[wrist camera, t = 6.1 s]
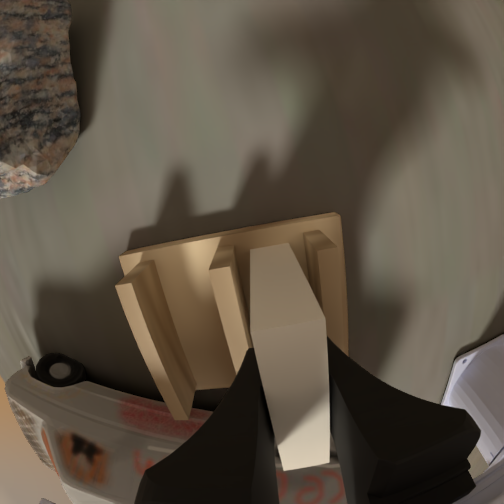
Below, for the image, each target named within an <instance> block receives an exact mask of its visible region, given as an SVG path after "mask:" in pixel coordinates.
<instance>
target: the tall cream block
mask: <svg viewBox="0 0 504 504" xmlns="http://www.w3.org/2000/svg"><path fill="white" fill-rule="evenodd" d="M250 333H251V337H252V341H253V346H254V350H255V355H256V359H257V363H258V368H259V372H260V376H261V380H262V385H263V389H264V393H265V397H266V401H267V406H268V410H269V414H270V418H271V422H272V426H273V430H274V434H275V438H276V442H277V446H278V450H279V454H280V458H281V462H282V466H283V470H284V471H286V470H293V469H299V468H305V467H311V466H316V465H321V464H325V463H329V458H330V403H329V371H328V351H327V334H326V320H325V316H324V314H323V312H322V310H321V308H320V306H319V304H318V302H317V300H316V297H315V295H314V293H313V291H312V289H311V287H310V285H309V283H308V281H307V279H306V277H305V275H304V273H303V271H302V269H301V267H300V265H299V263H298V261H297V259H296V257H295V255H294V253H293V251H292V249H291V247H290V245H289V243H284V244H279V245H273V246H267V247H262V248H256V249H251V250H250Z"/></svg>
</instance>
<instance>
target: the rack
mask: <svg viewBox="0 0 504 504" xmlns="http://www.w3.org/2000/svg"><path fill="white" fill-rule="evenodd" d="M284 243H289V245H290V247H291V249H292V251H293V253H294V255H295V257H296V259H297V261H298V263H299V265H300V267H301V269H302V271H303V273H304V275H305V277H306V279H307V281H308V283H309V285H310V287H311V289H312V291H313V293H314V295H315V297H316V300H317V302H318V304H319V306H320V308H321V310H322V312H323V314H324V316H325V320H326V334H327V336H328V337H329V338H330V339H331V341H332V342H333V343H334V344H335V345H336V346H337V347H339V348H340V349H341V350H342V351H343V352H344V353H345V354H346V355H347V356H348V307H347V287H346V271H345V258H344V246H343V236H342V226H341V217H340V215H339V214H337V213H335V212H332V213H326V214H320V215H314V216H308V217H302V218H296V219H290V220H284V221H279V222H273V223H267V224H262V225H256V226H250V227H245V228H239V229H234V230H229V231H223V232H218V233H213V234H208V235H202V236H197V237H192V238H187V239H182V240H177V241H172V242H167V243H162V244H157V245H152V246H147V247H142V248H138V249H133V250H128V251H125V252H124V253H123V254H121V255H120V256H119V259H120V263H121V266H122V269H123V272H124V276H125V277H124V278H122V279H121V280H120V281H119V282H118V283H117V284H116V285H115V287H116V290H117V293H118V296H119V299H120V301H121V304H122V307H123V309H124V312H125V315H126V317H127V320H128V322H129V325H130V328H131V330H132V332H133V335H134V337H135V340H136V342H137V344H138V347H139V349H140V351H141V354H142V356H143V358H144V360H145V362H146V365H147V367H148V369H149V371H150V373H151V375H152V377H153V379H154V381H155V383H156V386H157V388H158V390H159V391H160V393H161V395H162V397H163V399H164V401H165V403H166V405H167V407H168V409H169V411H170V412H171V414H172V416H173V418H174V420H189V417H190V412H191V408H192V403H193V398H194V394H195V390H203V389H215V388H226V387H230V386H231V384H232V383H233V381H234V379H235V377H236V375H237V373H238V371H239V369H240V366H241V364H242V362H243V359H244V357H245V354H246V351H247V350H248V349H249V348H254V346H253V341H252V337H251V333H250V250H251V249H256V248H262V247H267V246H273V245H279V244H284Z"/></svg>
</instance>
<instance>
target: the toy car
mask: <svg viewBox="0 0 504 504" xmlns="http://www.w3.org/2000/svg"><path fill="white" fill-rule="evenodd" d="M20 363H21V367H22V369H21V370H19V371H17V372H16V373H15V374H14V375H12V376H11V377H10V378H9V379H8V380H7V381H6V383H5V386H6V387H5V391H6V394H7V397H8V401H9V404H10V407H11V409H12V411H13V413H14V415H15V418H16V420H17V422H18V424H19V426H20V428H21V430H22V431H23V434H24V435H25V437H26V439H27V440H28V442H29V444H30V445H31V447H32V448H33V450H34V451H35V452H36V454H37V455H38V457H39V458H40V460H41V461H42V463H43V464H44V465H45V466H47V467H48V468H50V469H52V470H54V471H56V472H57V474H58V476H59V478H60V481H61V485H62V487H63V489H64V490H65V492H66V494H67V495H68V497H69V499H70V500H71V501H72V502H73V504H134V502H135V498H136V495H137V491H138V487H139V484H140V481H141V479H142V477H143V475H144V472H145V470H146V469H148V468H150V467H152V466H153V465H155V464H156V463H158V462H159V461H161V460H162V459H164V458H166V457H167V456H168V455H170V454H171V453H172V452H174V451H175V450H176V449H177V448H179V447H180V446H181V445H182V444H183V443H184V442H186V441H187V440H188V439H189V438H190V437H191V436H192V435H193V434H194V433H195V432H196V431H197V430H198V429H199V428H200V427H201V426H202V425H203V424H204V423H205V422H206V420H207V419H208V418H209V417H210V416H211V414H212V413H213V412H212V411H207V410H201V409H195V408H191V412H190V417H189V420H174V418H173V416H172V414H171V412H170V411H169V409H168V407H167V405H166V403H164V402H160V401H155V400H151V399H147V398H143V397H139V396H135V395H131V394H128V393H124V392H121V391H117V390H114V389H111V388H107V387H104V386H101V385H98V384H95V383H92V382H89V381H85V379H86V373H85V369H84V367H83V365H82V364H81V363H79V362H78V361H76V360H74V359H71V358H69V357H68V356H66V355H63V354H60V353H57V354H56V353H50V354H47V355H45V356H44V357H42V358H41V359H40V360H39V362H38V364H37V365H36V370H35V366H34V364H33V361H32V358H31V357H29V356H28V357H26V358H24V359H22V360H21V362H20ZM274 451H275V466H276V476H277V485H278V495H279V504H347V499H346V494H345V488H344V483H343V478H342V473H341V469H340V464H339V460H338V455H337V451H336V447H335V444H334V440H333V437H332V435H331V432H330V458H329V463H325V464H321V465H316V466H311V467H305V468H299V469H293V470H286V471H284V470H283V466H282V462H281V458H280V454H279V450H278V446H277V442H276V438H275V445H274Z"/></svg>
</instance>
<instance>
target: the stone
mask: <svg viewBox="0 0 504 504" xmlns="http://www.w3.org/2000/svg"><path fill="white" fill-rule="evenodd" d="M71 22H72V12H71V5H70V3H69V1H68V0H0V198H6V197H10V196H15V195H19V194H21V193H25V192H29V191H30V190H31V189H33V188H35V187H38V186H40V185H43V184H45V183H46V182H47V181H48V180H49V179H50V178H51V177H52V176H53V174H54V173H55V172H56V170H57V169H58V168H59V166H60V165H61V163H62V162H63V161H64V159H65V158H66V157H67V155H68V154H69V152H70V151H71V150H72V148H73V147H74V145H75V143H76V142H77V138H78V135H79V132H80V130H79V123H80V116H81V114H80V109H79V105H78V101H77V87H76V81H75V80H74V78H73V70H72V66H71V62H70V44H69V35H68V31H69V28H70V25H71Z"/></svg>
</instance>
